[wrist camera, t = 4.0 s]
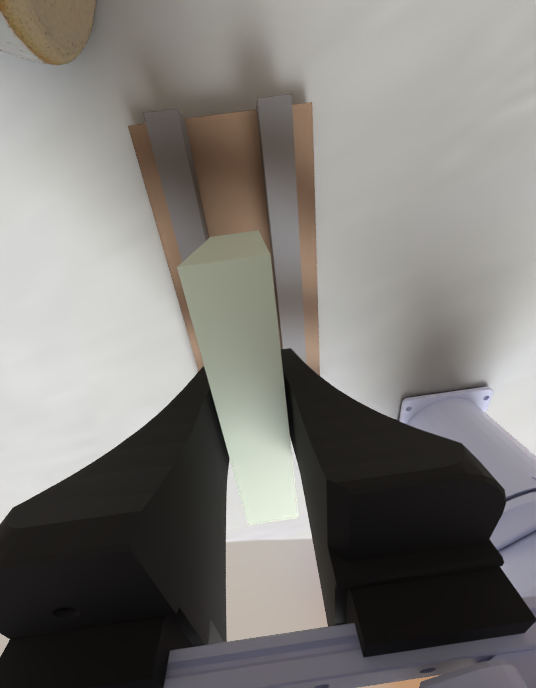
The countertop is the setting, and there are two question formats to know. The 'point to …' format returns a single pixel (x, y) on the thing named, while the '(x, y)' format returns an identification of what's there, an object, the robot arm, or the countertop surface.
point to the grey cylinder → (45, 28)
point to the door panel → (244, 367)
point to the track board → (240, 199)
